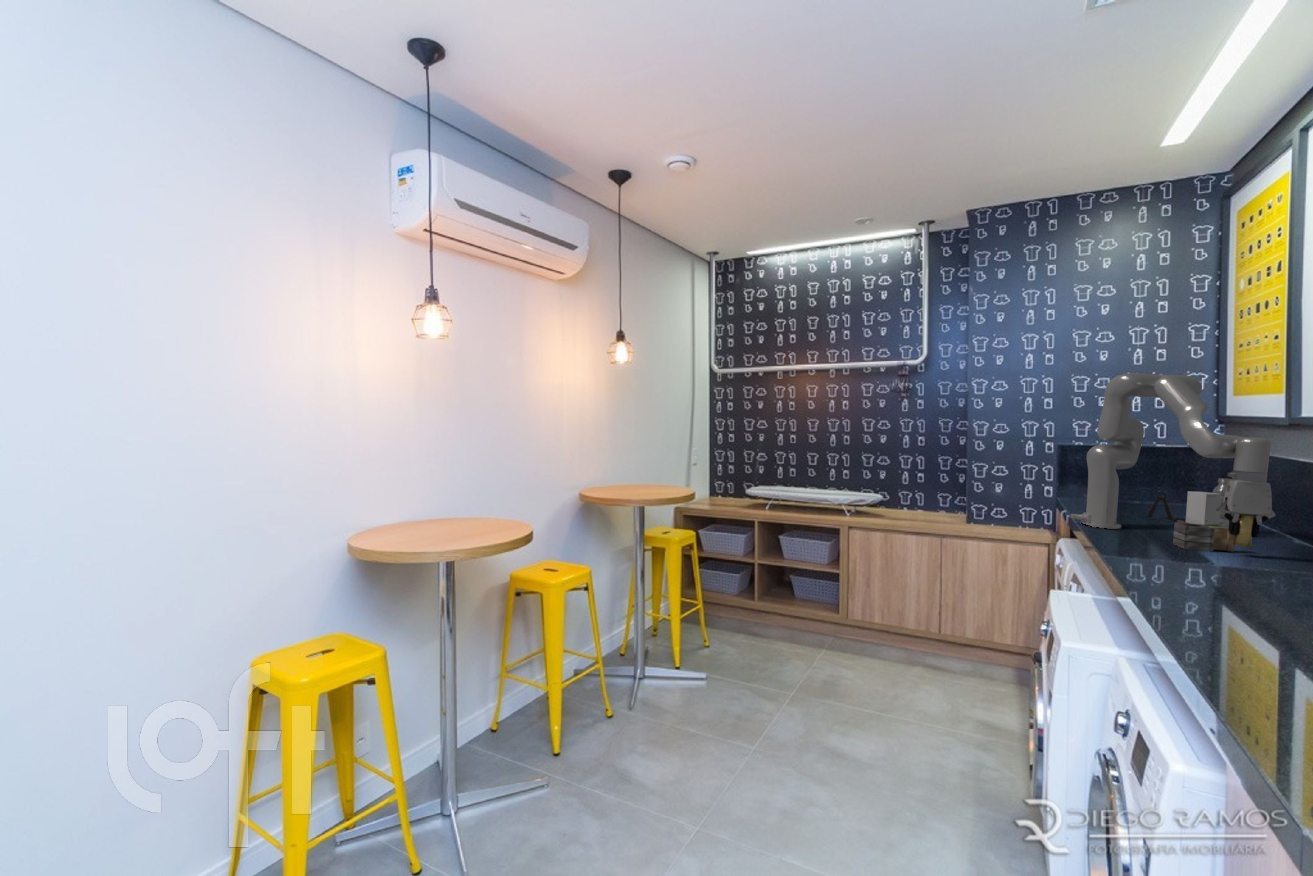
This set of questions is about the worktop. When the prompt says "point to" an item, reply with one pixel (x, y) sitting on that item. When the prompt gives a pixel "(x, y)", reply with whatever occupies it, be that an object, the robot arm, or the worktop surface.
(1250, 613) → the worktop surface
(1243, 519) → the brass hinge pin
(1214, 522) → the skincare box
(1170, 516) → the black a-shaped stand
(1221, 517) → the plastic bottle
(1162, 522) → the worktop surface
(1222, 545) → the wooden crate
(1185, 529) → the slatted wooden box
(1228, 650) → the worktop surface
